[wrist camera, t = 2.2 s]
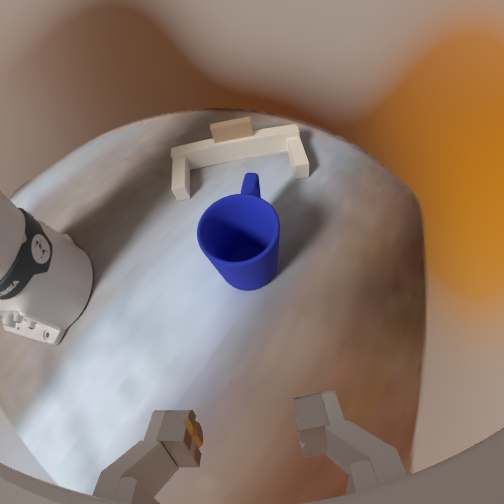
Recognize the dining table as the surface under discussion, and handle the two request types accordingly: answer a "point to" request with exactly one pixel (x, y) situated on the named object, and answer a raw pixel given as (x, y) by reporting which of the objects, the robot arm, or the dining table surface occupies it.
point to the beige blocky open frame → (236, 150)
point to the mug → (242, 237)
